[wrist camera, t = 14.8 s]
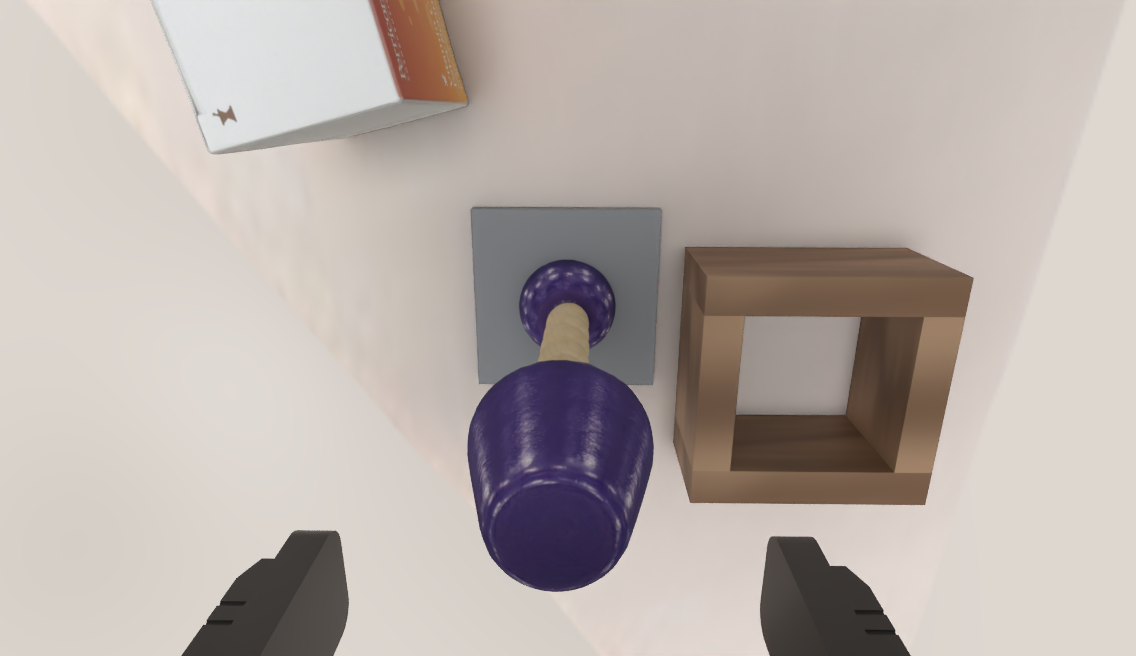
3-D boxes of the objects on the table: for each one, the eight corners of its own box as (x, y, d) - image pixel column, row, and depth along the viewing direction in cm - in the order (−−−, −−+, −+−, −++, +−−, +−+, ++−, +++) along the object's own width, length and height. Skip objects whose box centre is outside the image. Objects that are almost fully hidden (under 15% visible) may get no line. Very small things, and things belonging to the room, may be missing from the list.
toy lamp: (494, 277, 28) (391, 505, 13) (587, 225, 27) (603, 398, 12) (549, 366, 30) (519, 671, 14) (640, 318, 29) (717, 586, 13)
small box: (471, 106, 27) (408, 110, 17) (342, 139, 27) (206, 162, 17) (410, -117, 24) (293, -269, 14) (269, -75, 25) (60, -194, 15)
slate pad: (473, 207, 28) (470, 209, 27) (659, 207, 28) (661, 210, 27) (480, 378, 31) (478, 383, 30) (651, 379, 30) (652, 385, 30)
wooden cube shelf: (685, 247, 28) (707, 276, 24) (907, 248, 28) (973, 277, 24) (673, 442, 32) (690, 502, 27) (872, 444, 31) (924, 504, 27)
